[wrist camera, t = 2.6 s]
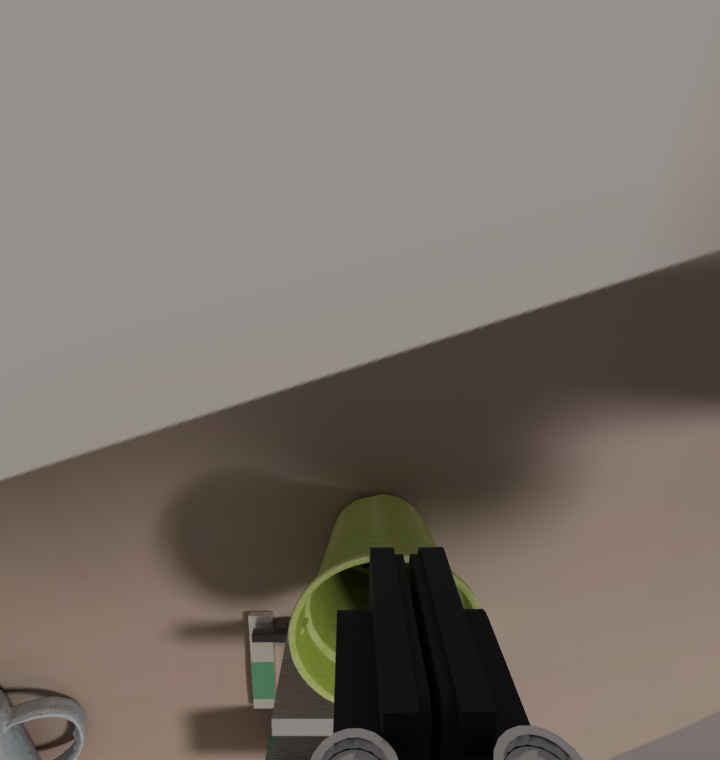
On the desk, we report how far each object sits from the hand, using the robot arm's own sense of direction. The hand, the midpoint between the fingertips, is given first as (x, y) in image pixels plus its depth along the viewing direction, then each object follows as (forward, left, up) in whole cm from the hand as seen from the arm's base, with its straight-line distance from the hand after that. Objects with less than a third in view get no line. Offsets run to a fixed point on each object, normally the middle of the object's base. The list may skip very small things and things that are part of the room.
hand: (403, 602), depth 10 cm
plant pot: (0, +10, -18) cm, 21 cm away
